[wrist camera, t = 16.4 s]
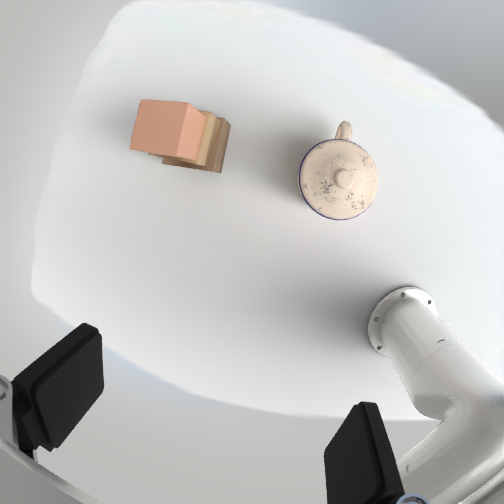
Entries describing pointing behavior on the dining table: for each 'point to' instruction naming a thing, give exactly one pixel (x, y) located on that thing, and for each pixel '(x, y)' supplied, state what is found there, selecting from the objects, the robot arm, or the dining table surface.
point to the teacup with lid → (338, 177)
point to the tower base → (216, 154)
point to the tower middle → (203, 141)
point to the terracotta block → (167, 129)
